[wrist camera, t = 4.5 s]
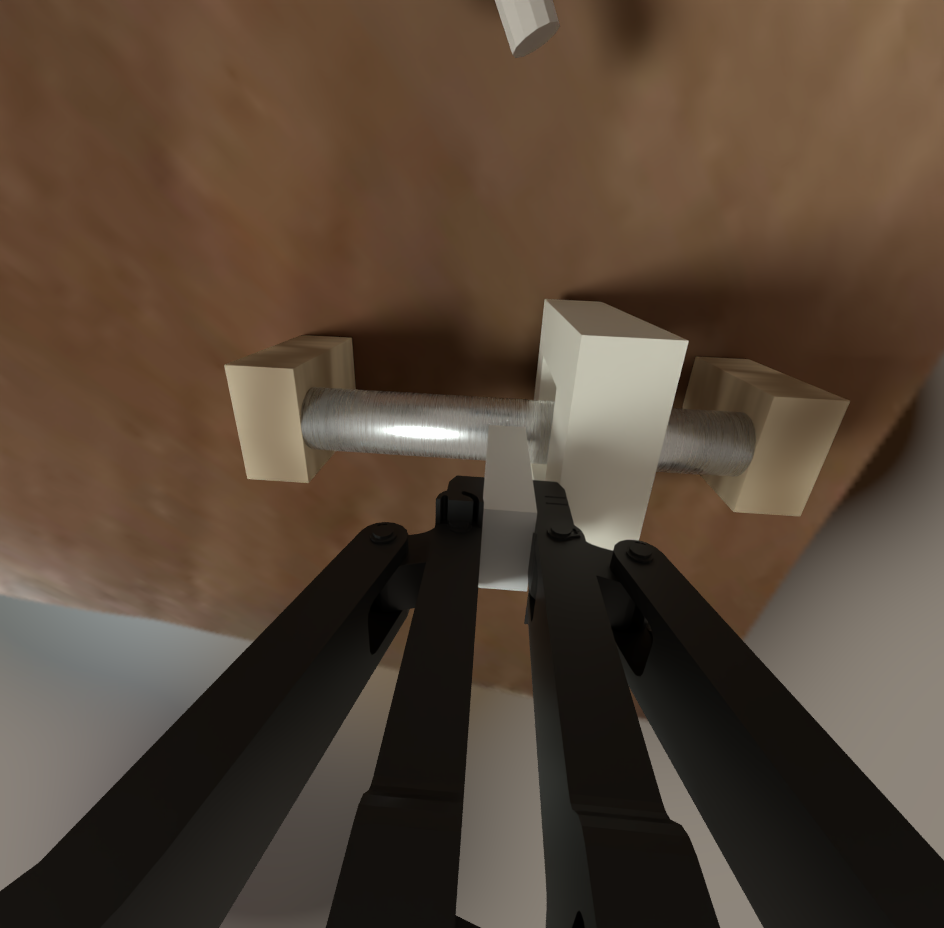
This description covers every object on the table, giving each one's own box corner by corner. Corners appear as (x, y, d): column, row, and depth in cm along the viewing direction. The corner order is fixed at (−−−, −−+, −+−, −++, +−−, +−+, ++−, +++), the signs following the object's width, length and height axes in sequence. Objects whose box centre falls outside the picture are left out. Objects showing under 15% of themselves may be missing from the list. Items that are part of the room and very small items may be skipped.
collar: (525, 481, 28) (539, 622, 17) (544, 298, 23) (581, 334, 12) (572, 484, 28) (616, 628, 17) (601, 301, 23) (688, 340, 12)
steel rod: (283, 434, 23) (251, 460, 20) (274, 373, 22) (238, 391, 19) (760, 464, 22) (799, 496, 19) (782, 402, 21) (829, 426, 18)
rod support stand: (312, 422, 28) (247, 478, 21) (302, 334, 26) (224, 365, 19) (721, 447, 27) (800, 516, 20) (749, 359, 25) (850, 401, 18)
